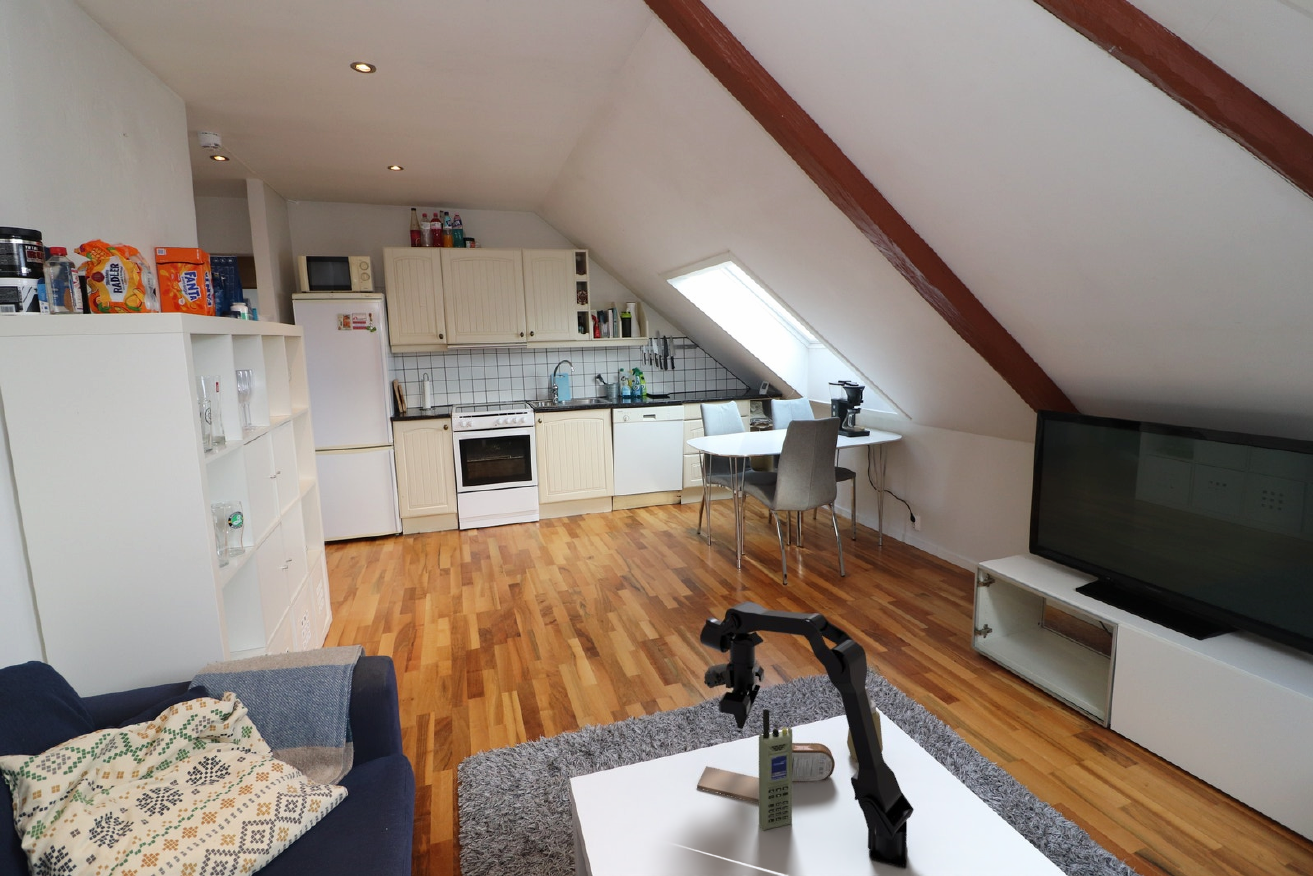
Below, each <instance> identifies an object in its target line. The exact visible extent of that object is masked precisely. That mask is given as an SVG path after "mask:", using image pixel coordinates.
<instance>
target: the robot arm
mask: <svg viewBox="0 0 1313 876" xmlns="http://www.w3.org/2000/svg"><path fill="white" fill-rule="evenodd" d="M761 631H763V632H770V633H778V634H785V635H786V634H787V635H794V636H802V637H804V638H805V639H806V640H807V641H808V642H809V646H810V648H811V650H812V652H813V655H814V656H815V658H816V659H817V660H818V661H819V662H820V663H821V664H822V666H823V667H824V669H825V672H826V674H827V677H828V679H829V682H830V683H831V684H832V685H833V687H835V689H836V690H837V691H838V692H839V694H840V696H841V702H842V705H843V708H844V709H843V710H844V713H845V717H846V718H845V719H846V720H847V726H848V730H849V729H850V733H851V737H852V741H853V745H854V749H855V753H856V757H857V761H858V762H857V765H858V771H856V772H855V773H854V774H853V775H852V776H851V778H850V783H851V786H852V789H853V791H854V801H857V802H858V805H859V808H860V809H861V811H862V812H863V813H862V814H863V817H864V820H865V823H866V827H867V850H870V851H869V858H870V860H872V861H876V862H880V863H884V864H886V865H887V864H888V865H891V866H895V867H899V868H904V869H906V868H907V867H908V863H907V862H908V853H907V852H908V850H907V849H908V846H907V845H908V844H907V843H908V842H907V838H908V837H907V836H908V833H907V832H908V823H907V822H908V821H907V820H909V819H910V818H911V816H912V814H913V813H914V810H915V809H914V807H913V806H912V804H911V803H910V801H909V800H908V799H907V797H906V796H905V794H904V793H903V792H902V790H901V787H900V785H899V782H898V780H897V777H896V775H895V772H894V771H893V770H892V769H891V767H890V766H889V765H888V764H887V763H886V761H885V760H884V756H883V751H882V752H881V748H880V744H879V740H878V737H877V733H876V729H875V725H874V721H873V717H872V713H871V709H870V705H869V701H868V698H867V694H866V690H865V687H866V684H867V683H866V682H867V677H868V676H867V675H868V663H867V661H868V660H867V655H866V651H865V649H864V647H863V646H862V645H860V644H859V643H858V642H857V641H855V640H854V639H853V638H852V637H851V636H850V635H849V634H848V633H847V632H846V631H845V630H843V629H841V628H839V627H838V626H837V625H835V624H833V623H831V622H830V620H828V619H827V618H826V617H825V615H823V614H821V613H815V612H814V613H805V612H797V611H796V612H795V611H785V610H775V609H774V610H773V609H767V608H764V606H762V605H761V604H759V603H755V602H752V601H749V600H748V601H746V600H745V601H743V602H741V603H739V604H737V605H735V606H732V607H730V608H728V609H727V610H726V612H725V613H724V619H723V620H722V621H721V620H718V619H717V618H715V617H713V616H712V617H709V618H707V619H705V625H704V626H703V627H702V630H701V632H700V635H699V640H700V643H701V644H702V645H703V646H705V647H707V648H710V649H712V650H715V651H716V652H717V651H718V652H719V653H723V654H724V653H727V652H728V651H729V662H728V663H721V664H715V665H712V666H710V667H708V668H707V670H706V671H705V673H704V677H703V678H704V685H706V686H707V687H708V688H710V689H713V688H715V687H720V686H724V685H725V689H731V690H732V691H726V692H724V693H723V694H722V696H721V697H720V699H719V701H718V712H720V713H723V714H724V713H725V714H728V715H733V717H734V720H735V723H736V726H737V729H740V730H743V729H744V727H745V725H746V721H747V719H748V718H749V716H750V713H751V710H752V709H753V706H754V704H755V701H756V699H757V696H758V694H759V692H760V689H761V685H760V684H757V683H758V682H759V683H763V681H764V679H765V670H764V668H763V667H762V666H761V665H758V659H756V647H757V646H759V645H760V644H762V643H764V639H763V638H762V636H760V635H759V634H758V632H761ZM824 638H825V639H827V640H828V641H831V642H832V643H833V644H835V645H834V646H833V647H832V648H830V647H829V646H828V645H827V644H826V642H825V639H824Z"/></svg>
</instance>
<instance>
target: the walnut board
mask: <svg viewBox="0 0 1313 876" xmlns="http://www.w3.org/2000/svg"><path fill="white" fill-rule="evenodd" d="M698 788H699V789H700V790H702V789H704V790H703V791H706V790H708V791H707V792H711V793H715V792H718V793H717V794H719V793H721V794H720V795H724V796H727V795H728V796H727V797H731V796H732V798H735V797H736V799H739V798H741V799H740V800H743V799H744V801H748V802H751V801H752V803H754V804H755V803H756V804H759V777H757V776H753V775H748V774H744V773H740V772H739V773H738V772H734V771H729V770H726V769H720V768H716V767H712V766H708V765H707V766H705V768H704V770H703V772H702V774H701V776H700V778H699V780H698V782H697V784H696V789H698Z"/></svg>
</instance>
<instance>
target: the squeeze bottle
mask: <svg viewBox="0 0 1313 876" xmlns="http://www.w3.org/2000/svg"><path fill="white" fill-rule="evenodd" d="M865 690H866V694H867V698H868V701H869V705H870V709H871V713H872V717H873V721H874V725H875V729H876V733H877V737H878V740H879V744H880V748H881V752H882V753H883V750H884V748H883V747H884V746H883V735H882V734H883V733H882V725H881V723H882V721H881V714H880V712H879V711H878V710H877V704H876V702H875V701H874V700H872V698H871V695H870V690H869V687H868V686H865ZM846 743H847V748H848V751H849V754H850V757H851V758H852V759H853V761H855V762H857V763H858V761H857V757H856V753H855V749H854V745H853V741H852V737H851V733H850V729H849V728H848V732H847V740H846Z"/></svg>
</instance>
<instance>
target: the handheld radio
mask: <svg viewBox="0 0 1313 876" xmlns="http://www.w3.org/2000/svg"><path fill="white" fill-rule="evenodd" d="M762 729H763V731H762V732H761V731H759V733H758V734H759V735H758V778H759V803H758V823H759V827H760V829H761V830H762V831H767V830H769V829H774V828H779V827H784V826H788V825H792V823H793V783H792V743H793V729H792V728H791V727H790V726H788V729H787V728H786V727H782V729H781V731H779V730H778V728H773V729H772V732H771V733H770V710H769V709H767V708H765V709H763V710H762Z"/></svg>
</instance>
